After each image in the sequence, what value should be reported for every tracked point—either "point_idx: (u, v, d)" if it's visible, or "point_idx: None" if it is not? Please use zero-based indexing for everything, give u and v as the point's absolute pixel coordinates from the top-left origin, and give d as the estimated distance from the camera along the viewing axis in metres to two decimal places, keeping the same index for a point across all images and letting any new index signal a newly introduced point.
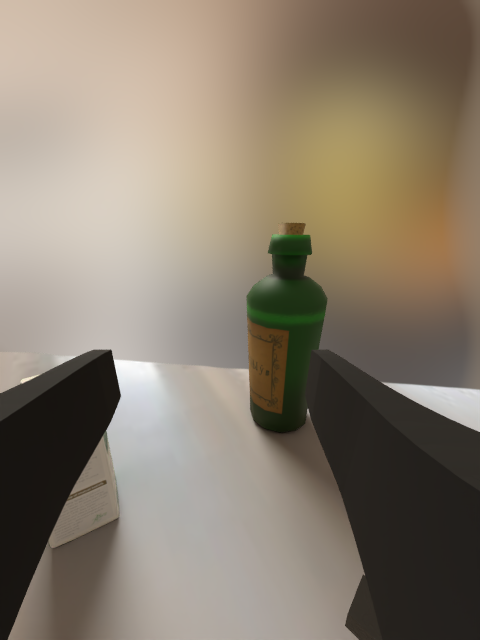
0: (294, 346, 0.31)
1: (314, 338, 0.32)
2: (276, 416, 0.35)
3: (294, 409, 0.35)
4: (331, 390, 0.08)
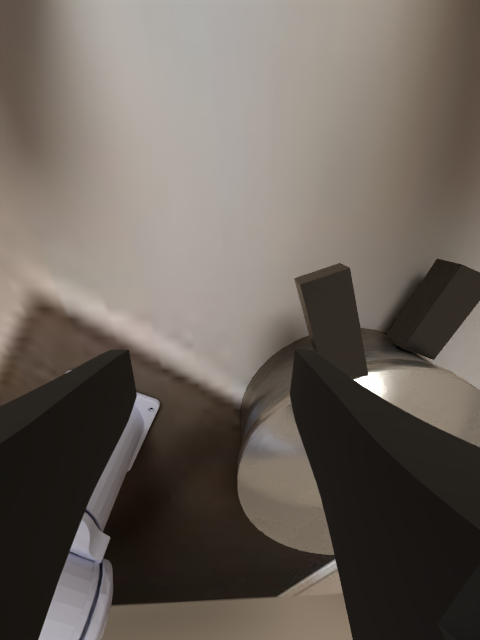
0: None
1: None
2: None
3: None
4: (310, 390, 0.08)
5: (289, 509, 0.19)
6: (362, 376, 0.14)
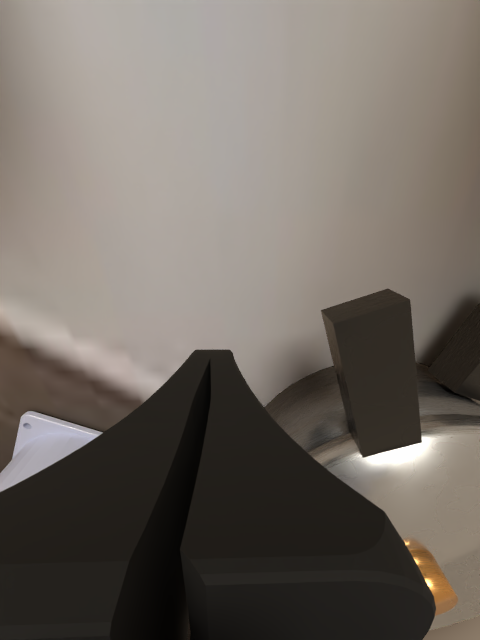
0: None
1: None
2: None
3: None
4: None
5: None
6: (413, 443, 0.10)
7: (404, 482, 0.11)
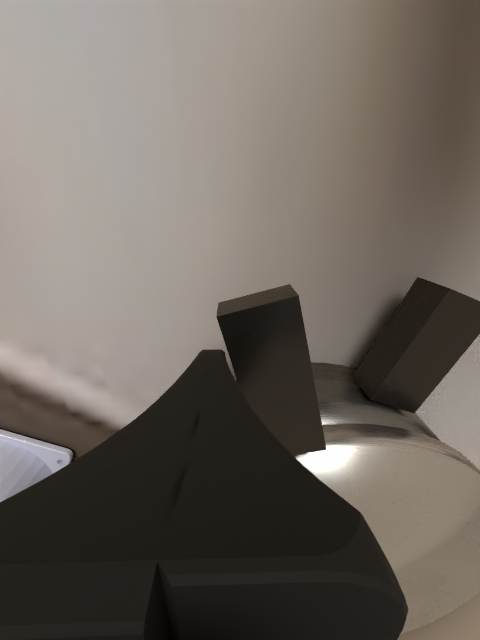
0: None
1: None
2: None
3: None
4: None
5: None
6: (317, 453, 0.10)
7: None
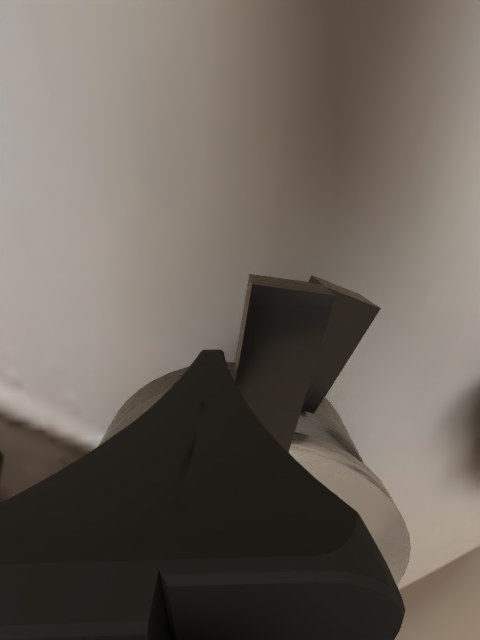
0: None
1: None
2: None
3: None
4: None
5: None
6: None
7: None
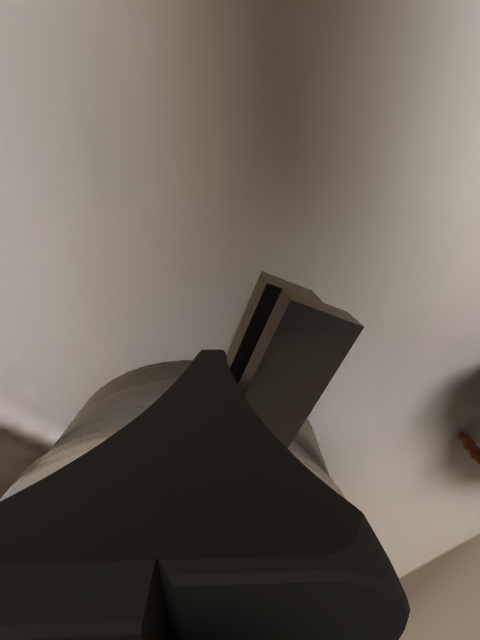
0: None
1: None
2: None
3: None
4: None
5: None
6: None
7: None
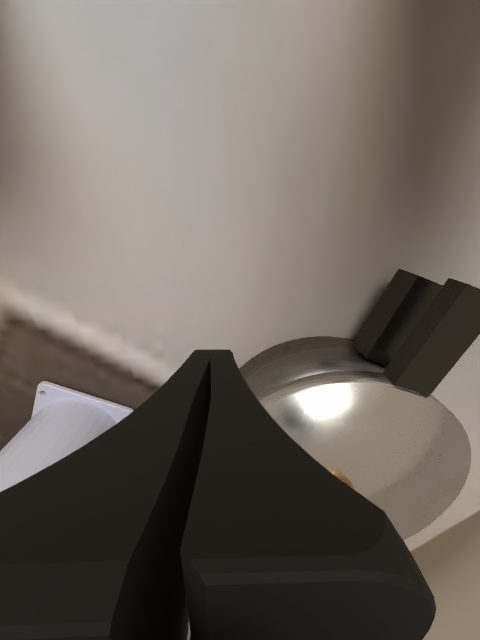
0: None
1: None
2: None
3: None
4: None
5: None
6: (422, 395, 0.15)
7: (393, 421, 0.16)
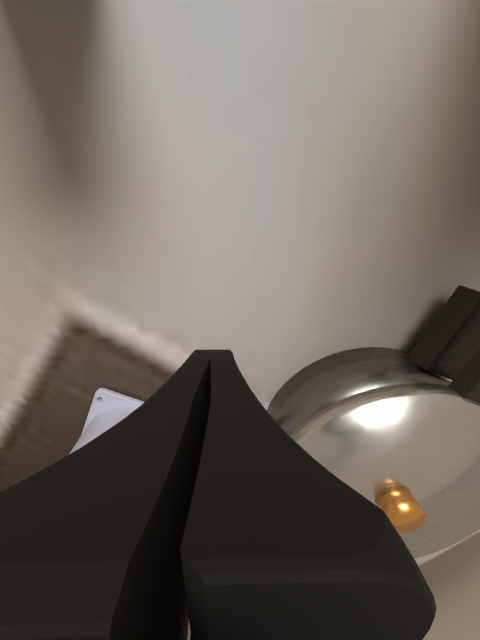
0: None
1: None
2: None
3: None
4: None
5: None
6: None
7: (458, 432, 0.16)
